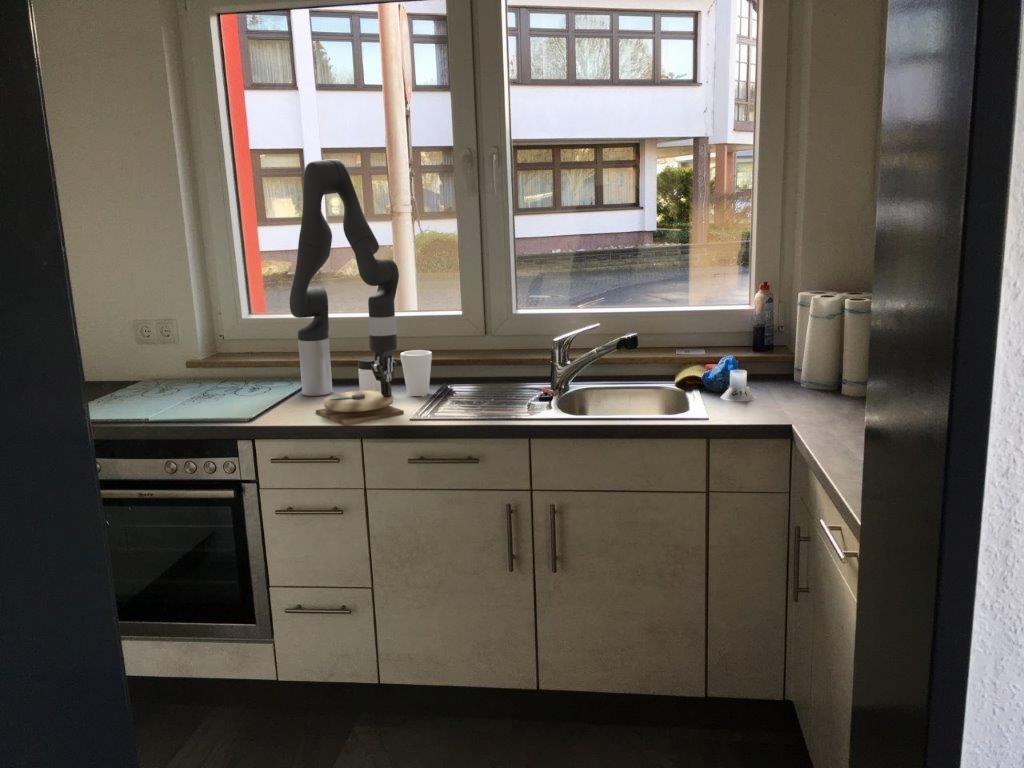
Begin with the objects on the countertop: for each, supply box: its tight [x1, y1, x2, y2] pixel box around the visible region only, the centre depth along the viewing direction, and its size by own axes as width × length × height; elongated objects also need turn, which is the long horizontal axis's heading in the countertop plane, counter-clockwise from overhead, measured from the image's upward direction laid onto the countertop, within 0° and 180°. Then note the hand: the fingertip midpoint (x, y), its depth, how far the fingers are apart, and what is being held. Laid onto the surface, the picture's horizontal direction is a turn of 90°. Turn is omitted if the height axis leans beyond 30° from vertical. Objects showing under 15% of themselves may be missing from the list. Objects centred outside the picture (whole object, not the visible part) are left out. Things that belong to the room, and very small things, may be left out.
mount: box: [315, 405, 405, 426], centre depth 233 cm, size 18×18×3 cm
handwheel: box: [323, 384, 394, 412], centre depth 232 cm, size 19×19×4 cm
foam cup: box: [400, 349, 433, 397], centre depth 254 cm, size 10×9×13 cm
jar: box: [357, 356, 381, 391], centre depth 251 cm, size 9×8×12 cm
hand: (386, 394), depth 231 cm, fingers closed
